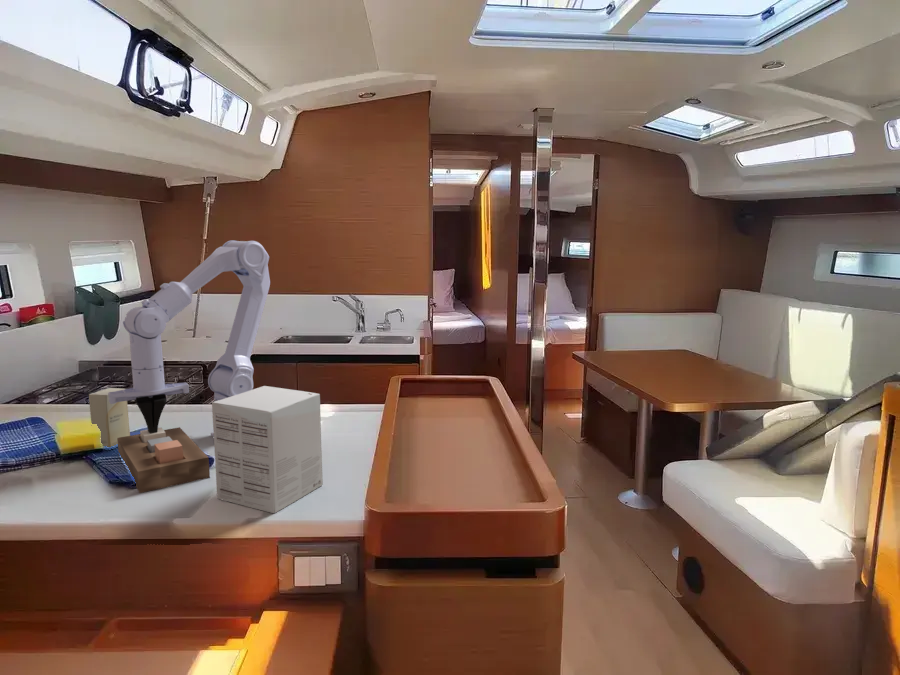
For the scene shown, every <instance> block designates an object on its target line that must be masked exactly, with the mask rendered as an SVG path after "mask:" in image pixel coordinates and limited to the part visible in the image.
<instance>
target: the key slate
mask: <svg viewBox="0 0 900 675" xmlns="http://www.w3.org/2000/svg"><path fill="white" fill-rule="evenodd" d="M169 441H173V440H172V439H171V438H170V437H169V436H168V437H162V438H157V439H151V440H147V445H148V451H149V452H150V453H154V452H155V446H154V444H158V443H163V442H169Z"/></svg>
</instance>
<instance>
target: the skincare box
mask: <svg viewBox="0 0 900 675" xmlns="http://www.w3.org/2000/svg"><path fill="white" fill-rule="evenodd" d="M125 389H126V388H121V387H120V388H119V387H118V388H117V387H107V388H105V389H104V388H103V389H101V390H98V391H96V392H93V393H88V401H89V403H88V404H89V411H90V412H89V414H90V423H92V424H97V426H98V428H99V429H100V431H101V443H102V444H103V446H107V447H111V446H114V445H116V444H118V442H117V438H120V437H126V436H131V431H130V420H129V419H130V418H129V410H128V409H129V407H128V401H122V402H117V403H114V404H110V403H109V397H108V392H115V391H120V390H125Z"/></svg>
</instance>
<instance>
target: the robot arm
mask: <svg viewBox="0 0 900 675" xmlns="http://www.w3.org/2000/svg"><path fill="white" fill-rule="evenodd" d="M269 260H270V256H269V254H268V252H267V251H266V249H265V247H264V246H263V245H262V244H261V243H260V242H259V241H256V240H247V241H245V240H240V241H239V240H232V239H231V240H228V241H226V242H225V243H223V244H222V246H219V247H217V248H215V250H214V251H213V252H212V253H211V254H210V255H209V256H207V258H206V259H204V260H203V261H202V262H201V263H200V264H199V265H198V266H196V267H195V268H194V269H193V270H192V271H190V273H189V274H188V275H186V276H185V277H184V278H183V279H182V280H180V281H170V282H169V283H168V282H167V283H166V282H164V283H162V284H161V285H159V288H160V289H159V290H158V291H157V292H156V293H154V294H153V295H152V296H151V297H150V298H149V299H146V298H144V299H143V300H142V301H140V302H141V305H142V306H135V307H133V308H131V309H130V310H129V311H128V312H127V313H126V314H125V315H126V316H125V318H124V320H123V321H122V325H123V327H124V329H125V330H126V331H127V332H128V335H129V350H130V352H129V353H130V362H131V374H132V386H133V387H130V388H124V389H125V390H120V391H115V392H108V397H109V403H110V404H114V403H117V402H122V401H127V402H129V401H134V402H135V404H136V405H137V407H138V408H139V409H138V410H140V412H141V414H142V416H143V418H144V422H145V425H146V427H147V430H148V432H149V433H150V434H151V433H157V431H158V428H159V423H160V419H161V415H162V413H163V412H164V411H163V410H164V408H165V406H166V404H167V400H168V399H167V397H166V396H170V395H179V394H190V386H189V385H190V384H188V383H187V382H177V383H175V382H174V383H166V382H165V371H164V370H165V368H164V357H163V356H164V354H163V353H164V352H163V344H162V343H163V342H162V334H163V333H164V332H165V330H166V326H167V323H169V322H170V321H171V320H173V319H174V318H175V317H176V316H177V315H179V313H181V312H182V311H183V310H184V309H185V308H186V307H189V305H190V304H191V303H192V301H193V295H194V293H196V292H198V291H199V289H201V288H203V287H204V286H206V284H209V282H211V281H212V280H213V279H214V278H217V276H218V275H219V276H220V274H222V273H223V272H233V274H235V275H236V276H237V278H238V279H239V280H240V282H241V284H242V286H243V288H242V290H241V295H240V298H239V302H238V306H237V308H236V312H235V316H234V319H233V323H232V327H231V330H230V334H229V338H228V341H227V345H226V348H225V351H224V354H222V355H221V356H220V357H219V358H218V360H217V361H216V364H215V367H214V368H213V369H212V370H211V371H210V373H209V375H208V379H207V384H208V388H210V390H211V391H212V392H214V394H213V395H214V396H213V399H214V401H213V402H215V401H218V400H222V399H225V398H228V397H231V396H234V395H238V394H241V393H244V392H247V391H250V390H253V389H254V379H253V375H254V370H255V369H254V366H253V364H252V360H251V355H252V352H253V348H254V345H255V341H256V338H257V334H258V330H259V327H260V323H261V320H262V315H263V313H264V310H265V309H264V308H265V304H266V301H267V298H268V294H269V291H270V287H271V286H270V285H271V279H270V271H269V266H268V264H269ZM210 435H211V437H213V438H214V431H212V432H210Z"/></svg>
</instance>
